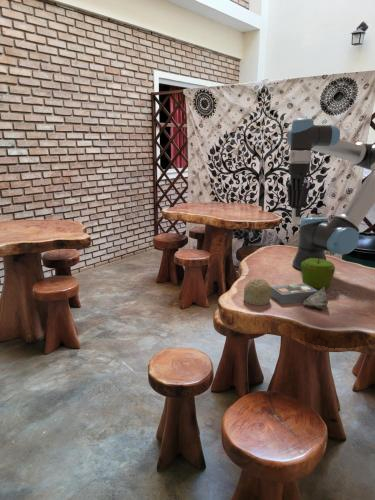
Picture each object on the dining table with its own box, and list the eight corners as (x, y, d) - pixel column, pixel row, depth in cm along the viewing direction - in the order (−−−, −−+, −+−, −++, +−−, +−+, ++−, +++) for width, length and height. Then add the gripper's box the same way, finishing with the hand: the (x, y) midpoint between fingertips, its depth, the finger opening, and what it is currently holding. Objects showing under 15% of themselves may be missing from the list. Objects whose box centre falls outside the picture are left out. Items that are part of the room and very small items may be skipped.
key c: (284, 293, 130) (285, 288, 130) (289, 296, 127) (289, 291, 127) (276, 294, 130) (277, 288, 129) (281, 297, 127) (281, 292, 126)
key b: (295, 289, 131) (296, 283, 131) (300, 292, 128) (301, 286, 128) (287, 289, 130) (288, 284, 130) (292, 293, 127) (293, 287, 127)
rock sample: (296, 289, 128) (317, 277, 123) (310, 300, 130) (331, 289, 126) (298, 311, 120) (321, 300, 115) (313, 323, 123) (336, 312, 118)
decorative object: (255, 316, 123) (274, 296, 119) (234, 296, 126) (251, 275, 122) (263, 309, 131) (281, 289, 127) (242, 290, 134) (259, 270, 130)
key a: (305, 291, 133) (306, 285, 132) (310, 294, 130) (311, 288, 129) (298, 291, 132) (298, 286, 131) (303, 295, 129) (303, 289, 128)
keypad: (304, 291, 136) (305, 282, 135) (317, 299, 128) (318, 289, 127) (270, 295, 132) (270, 285, 131) (281, 304, 124) (282, 293, 123)
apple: (294, 281, 147) (297, 254, 144) (323, 280, 148) (326, 254, 145) (307, 292, 135) (310, 263, 132) (338, 292, 136) (342, 263, 133)
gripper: (281, 162, 140) (277, 222, 146) (301, 163, 128) (297, 228, 134) (297, 162, 142) (293, 221, 148) (319, 162, 130) (313, 227, 136)
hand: (295, 224), depth 141 cm, fingers closed
